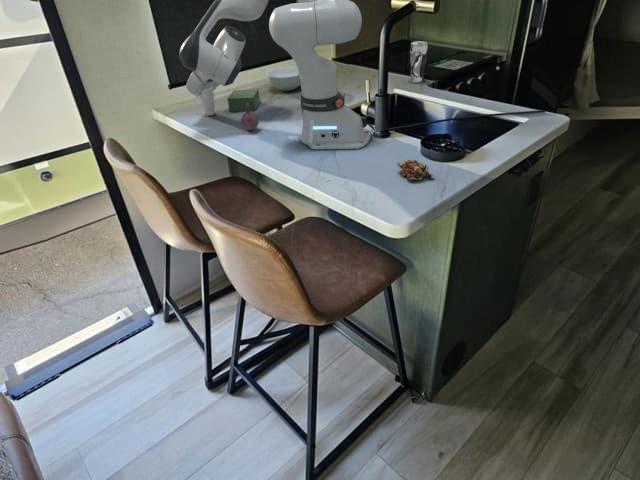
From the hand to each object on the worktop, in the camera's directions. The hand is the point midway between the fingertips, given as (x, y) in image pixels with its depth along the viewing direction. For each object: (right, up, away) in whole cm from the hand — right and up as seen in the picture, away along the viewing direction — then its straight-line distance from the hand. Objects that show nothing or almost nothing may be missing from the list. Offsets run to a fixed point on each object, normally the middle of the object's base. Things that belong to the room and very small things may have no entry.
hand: (204, 91), depth 160 cm
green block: (+13, -2, +10) cm, 17 cm away
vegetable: (+19, -17, -11) cm, 28 cm away
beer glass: (+84, +12, +23) cm, 87 cm away
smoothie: (+1, -7, +5) cm, 8 cm away
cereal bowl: (+29, +10, +26) cm, 40 cm away
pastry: (+68, -36, -42) cm, 88 cm away
